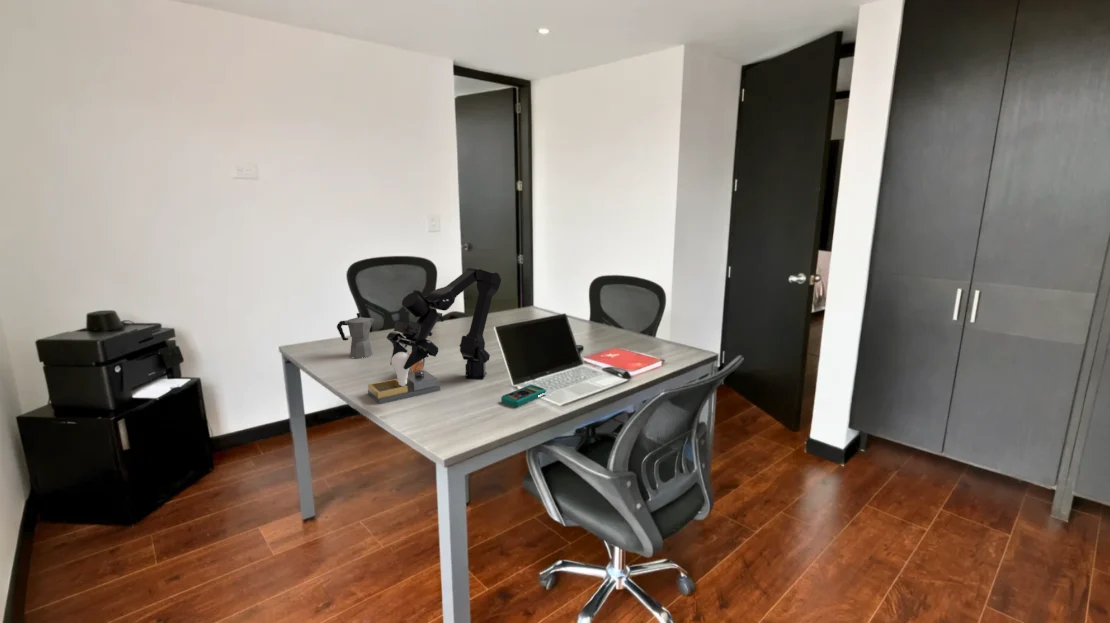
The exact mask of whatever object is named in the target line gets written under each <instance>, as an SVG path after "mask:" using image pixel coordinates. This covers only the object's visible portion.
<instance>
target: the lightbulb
mask: <svg viewBox="0 0 1110 623" xmlns="http://www.w3.org/2000/svg"><path fill="white" fill-rule="evenodd" d="M409 356H410V355H409V354H408V352H406V353H405V352H398V353H396V354H395V355H394V356H393V357H392V356H391V358H392V360H390V363H391V364H392V365H391V367H392V368H393V370H394V372H395V373H396V377H397V378H396V379H398V382H399V385H401V386H405V385H406V384H407V377H408V371H409V369H410V368H408V369H407V370H405V369H404V365H405V363H406V361H407V359H408V358H409Z"/></svg>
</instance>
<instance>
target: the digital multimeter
mask: <svg viewBox="0 0 1110 623" xmlns="http://www.w3.org/2000/svg"><path fill="white" fill-rule="evenodd" d="M545 392H546V393H547V390H546V389H545V388H544V387H540V386H537V385H534V384H528V385H526V386H524V387H521V388H519V389H516V390H513V391H511V392H508V393H506V394H503V395H502V396H501V403H502V404H504V405H507V406H509V407H512V406H514V408H517V407H518V408H519V406H520V407H522V406H524V405H526V404H528V402H529V403H531V402H532V401H536V400H538V399H539V398H538V395H540V394H542V393H545ZM537 398H538V399H537ZM535 399H536V400H535ZM530 401H531V402H530ZM521 405H522V406H521Z"/></svg>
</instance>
